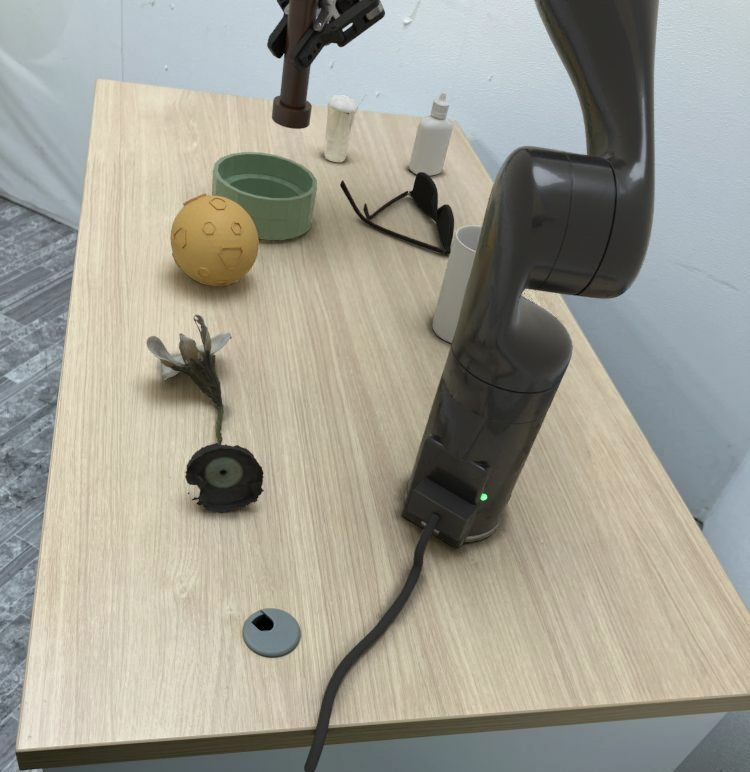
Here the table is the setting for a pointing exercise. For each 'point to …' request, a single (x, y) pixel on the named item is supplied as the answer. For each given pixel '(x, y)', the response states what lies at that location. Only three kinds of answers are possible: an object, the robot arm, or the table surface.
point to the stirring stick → (294, 86)
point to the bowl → (268, 192)
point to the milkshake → (339, 126)
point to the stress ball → (214, 240)
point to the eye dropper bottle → (432, 139)
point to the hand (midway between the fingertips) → (284, 58)
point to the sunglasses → (428, 203)
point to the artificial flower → (216, 462)
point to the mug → (455, 281)
